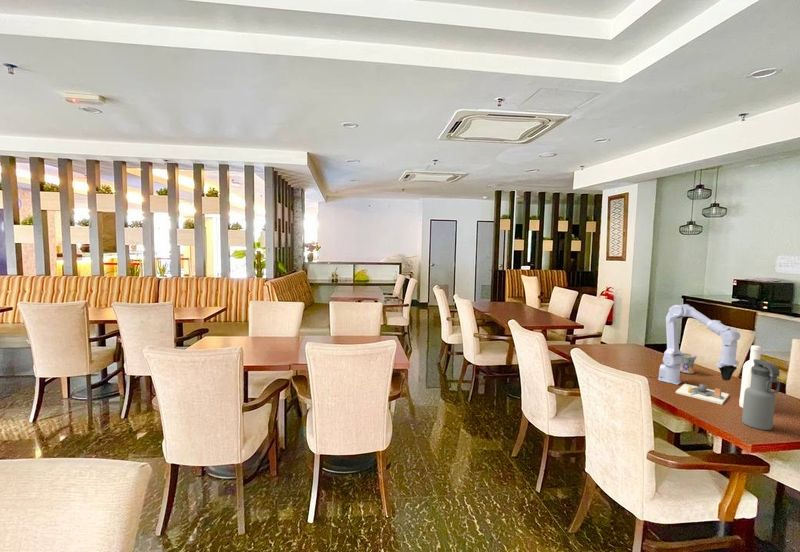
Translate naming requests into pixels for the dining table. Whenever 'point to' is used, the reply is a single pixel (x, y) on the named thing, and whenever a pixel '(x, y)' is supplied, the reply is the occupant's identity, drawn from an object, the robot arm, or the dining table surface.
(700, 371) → the dining table surface
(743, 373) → the bottle
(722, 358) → the robot arm
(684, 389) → the base board
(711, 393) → the grey metal bracket
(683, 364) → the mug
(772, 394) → the water bottle
